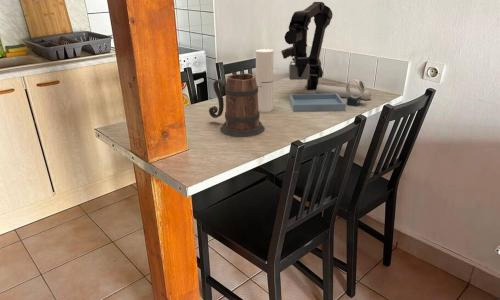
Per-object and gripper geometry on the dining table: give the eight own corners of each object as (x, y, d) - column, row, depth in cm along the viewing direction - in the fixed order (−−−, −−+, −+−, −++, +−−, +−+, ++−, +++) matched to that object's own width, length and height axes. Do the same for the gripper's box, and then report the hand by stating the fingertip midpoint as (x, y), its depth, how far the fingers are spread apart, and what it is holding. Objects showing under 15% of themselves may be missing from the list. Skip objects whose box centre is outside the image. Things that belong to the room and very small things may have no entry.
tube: (372, 90, 172) (319, 84, 182) (371, 89, 167) (317, 83, 177) (370, 101, 173) (318, 95, 183) (369, 101, 168) (315, 94, 178)
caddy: (288, 77, 177) (289, 60, 174) (307, 76, 177) (308, 60, 174) (289, 79, 172) (290, 62, 169) (309, 79, 172) (310, 62, 169)
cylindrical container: (271, 112, 157) (271, 52, 147) (254, 111, 158) (254, 51, 148) (273, 107, 163) (274, 49, 153) (257, 106, 165) (257, 48, 154)
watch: (360, 107, 161) (363, 82, 157) (342, 104, 165) (345, 80, 161) (364, 103, 166) (367, 79, 161) (347, 101, 170) (349, 77, 165)
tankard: (273, 125, 143) (273, 74, 134) (249, 140, 130) (248, 84, 121) (223, 115, 154) (221, 67, 146) (197, 128, 141) (193, 76, 133)
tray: (289, 100, 172) (289, 94, 171) (336, 99, 172) (337, 93, 171) (293, 111, 157) (293, 104, 156) (345, 110, 157) (345, 104, 156)
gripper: (280, 38, 176) (280, 71, 182) (284, 44, 159) (283, 80, 166) (304, 38, 176) (302, 71, 182) (310, 44, 159) (308, 80, 165)
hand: (299, 75), depth 174 cm, fingers closed on caddy, 5 cm apart
